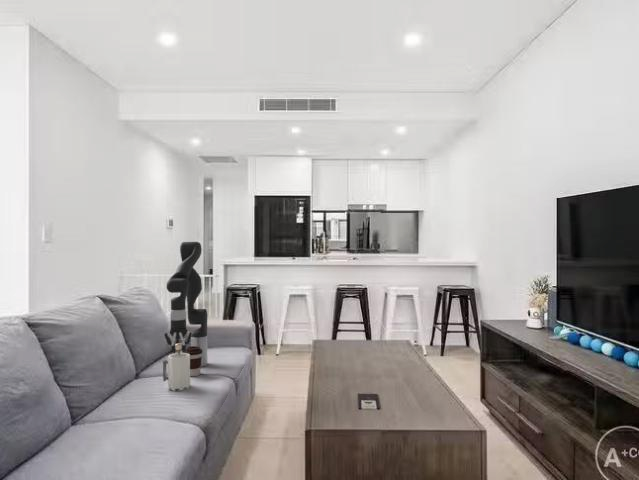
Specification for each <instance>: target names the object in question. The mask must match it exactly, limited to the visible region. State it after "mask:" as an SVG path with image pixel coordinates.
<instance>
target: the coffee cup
mask: <svg viewBox="0 0 639 480" xmlns="http://www.w3.org/2000/svg"><path fill="white" fill-rule="evenodd" d="M184 353H187V354H190V376H191V377H192V376H193V377H198V376H200V375H201V368H202V367H201V358H202V356H201V353H202V349H200V347H198V346H191V345H190V346H188V347H186V351H185V352H184ZM191 377H190V378H191Z"/></svg>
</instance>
